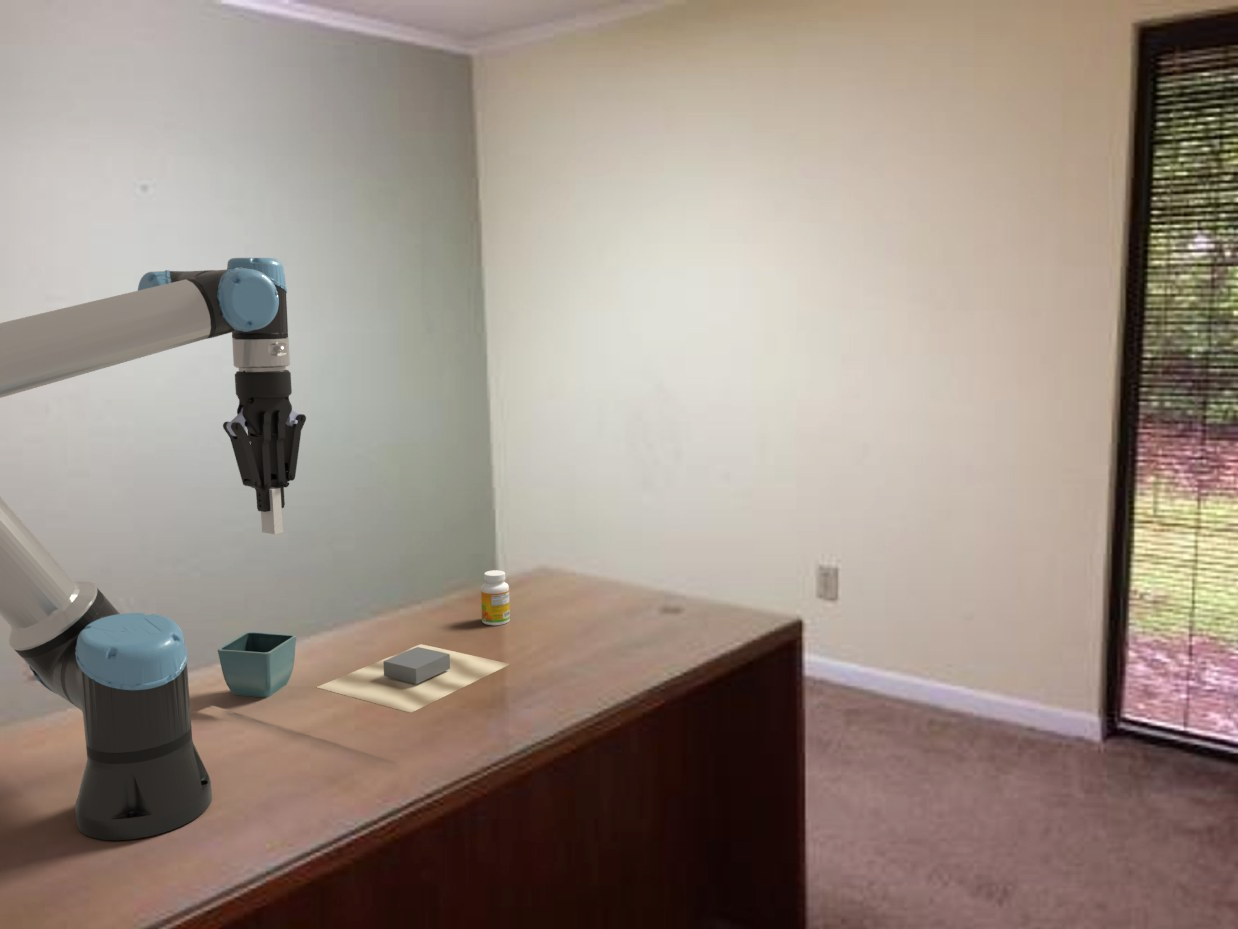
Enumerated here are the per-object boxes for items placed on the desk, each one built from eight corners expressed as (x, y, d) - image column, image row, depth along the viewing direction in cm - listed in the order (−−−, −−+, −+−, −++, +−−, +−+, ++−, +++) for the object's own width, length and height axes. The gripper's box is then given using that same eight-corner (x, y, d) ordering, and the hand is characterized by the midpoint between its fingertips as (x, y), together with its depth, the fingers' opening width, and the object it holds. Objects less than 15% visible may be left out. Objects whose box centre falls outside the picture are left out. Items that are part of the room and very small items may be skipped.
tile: (415, 668, 163) (449, 654, 169) (383, 661, 166) (417, 646, 173) (416, 686, 163) (450, 671, 170) (384, 678, 167) (418, 663, 174)
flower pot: (272, 709, 158) (268, 652, 156) (219, 705, 160) (215, 649, 158) (300, 688, 166) (297, 634, 165) (250, 684, 168) (247, 631, 167)
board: (410, 720, 153) (410, 712, 153) (316, 694, 163) (316, 687, 163) (510, 670, 173) (510, 664, 173) (420, 650, 184) (420, 644, 183)
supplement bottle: (479, 619, 202) (478, 570, 200) (506, 616, 203) (505, 568, 202) (484, 627, 196) (483, 577, 195) (512, 624, 198) (511, 575, 197)
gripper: (241, 372, 139) (252, 544, 142) (316, 367, 150) (325, 526, 153) (205, 371, 143) (217, 538, 146) (281, 365, 154) (290, 521, 157)
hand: (272, 532), depth 150 cm, fingers closed
